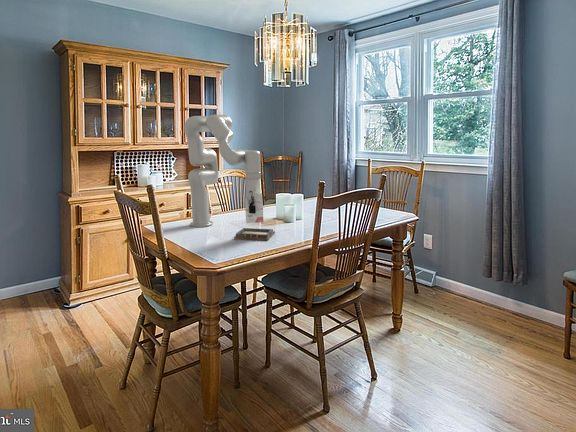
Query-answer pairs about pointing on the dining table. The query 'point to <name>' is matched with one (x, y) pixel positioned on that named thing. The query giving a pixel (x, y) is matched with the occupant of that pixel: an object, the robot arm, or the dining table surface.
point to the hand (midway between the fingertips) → (254, 211)
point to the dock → (254, 234)
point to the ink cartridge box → (259, 210)
